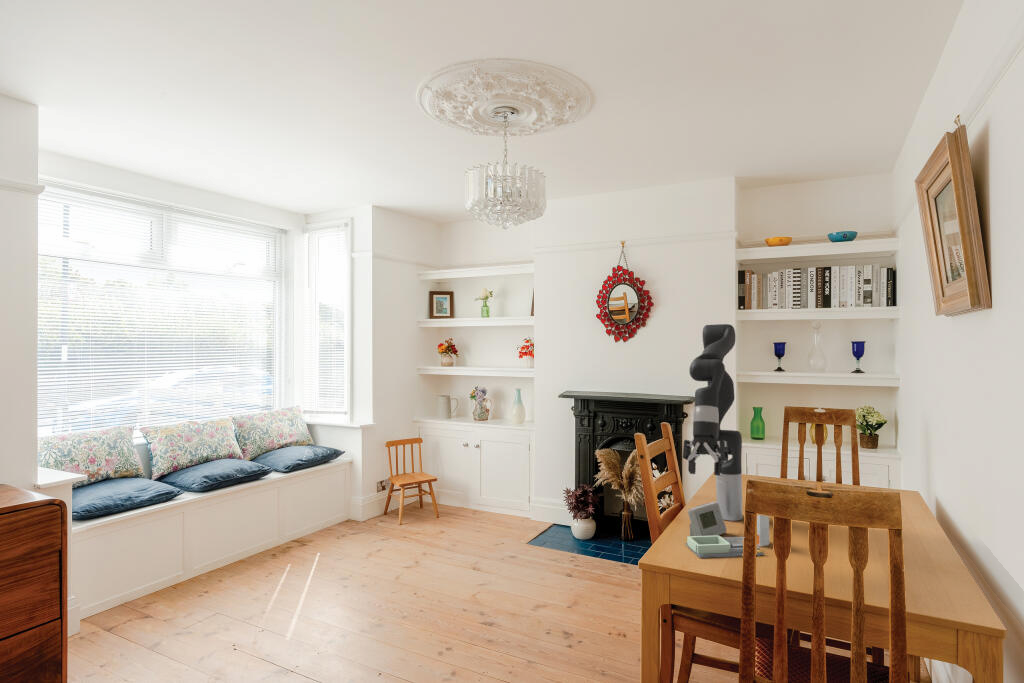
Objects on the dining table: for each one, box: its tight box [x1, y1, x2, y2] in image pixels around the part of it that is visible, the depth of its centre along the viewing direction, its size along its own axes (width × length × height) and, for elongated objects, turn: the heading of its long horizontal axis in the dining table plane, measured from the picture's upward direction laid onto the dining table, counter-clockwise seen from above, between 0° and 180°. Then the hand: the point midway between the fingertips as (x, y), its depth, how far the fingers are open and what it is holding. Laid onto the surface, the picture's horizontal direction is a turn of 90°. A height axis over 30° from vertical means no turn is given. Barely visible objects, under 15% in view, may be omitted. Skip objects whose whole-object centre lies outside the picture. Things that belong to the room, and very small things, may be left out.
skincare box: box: [756, 515, 770, 548], centre depth 191 cm, size 6×4×12 cm
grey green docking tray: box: [685, 535, 765, 559], centre depth 185 cm, size 12×21×3 cm, turn 94°
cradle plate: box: [722, 536, 745, 547], centre depth 186 cm, size 7×7×1 cm
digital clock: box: [687, 501, 727, 536], centre depth 199 cm, size 16×9×11 cm, turn 116°
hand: (704, 474), depth 177 cm, fingers open, 8 cm apart
